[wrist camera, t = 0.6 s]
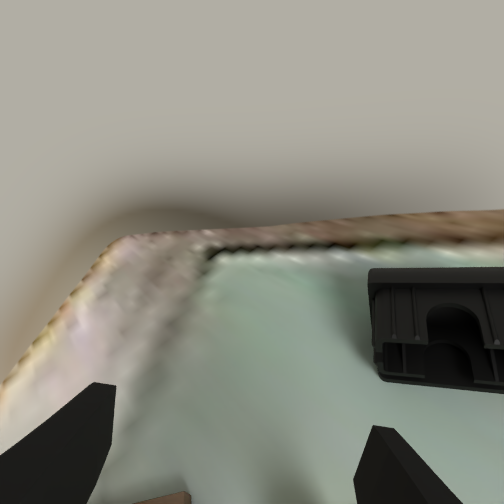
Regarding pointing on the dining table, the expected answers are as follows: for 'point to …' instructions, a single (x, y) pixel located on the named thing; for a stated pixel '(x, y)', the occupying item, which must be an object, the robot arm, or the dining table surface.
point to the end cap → (439, 326)
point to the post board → (170, 499)
